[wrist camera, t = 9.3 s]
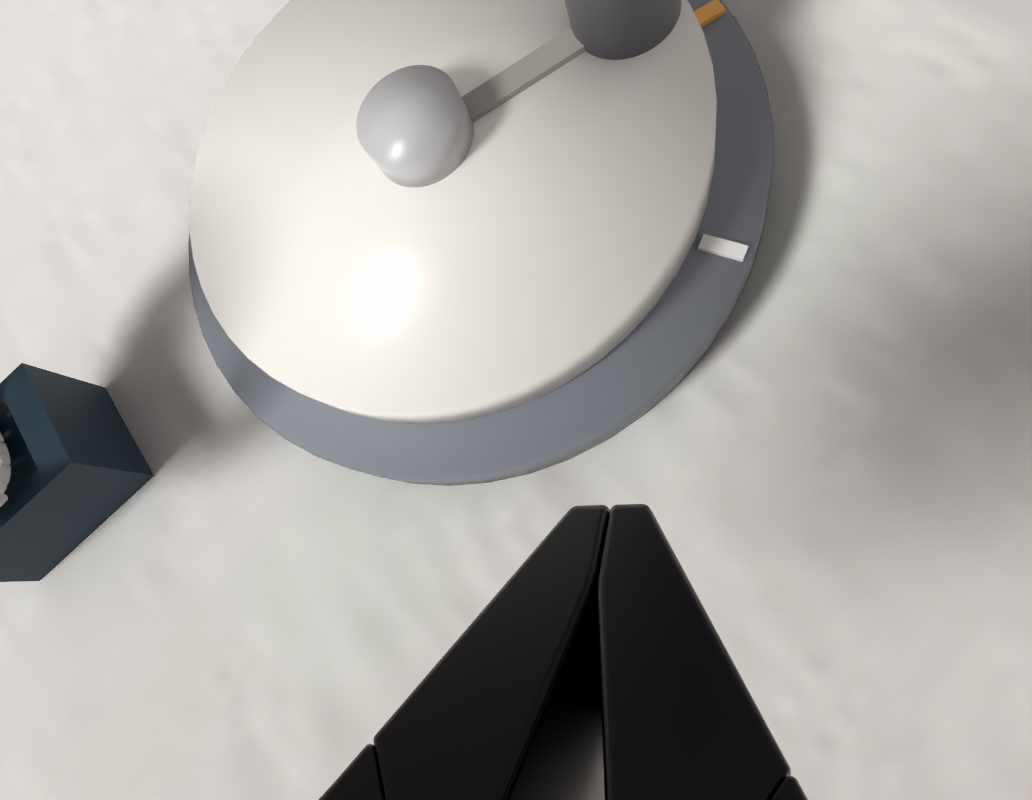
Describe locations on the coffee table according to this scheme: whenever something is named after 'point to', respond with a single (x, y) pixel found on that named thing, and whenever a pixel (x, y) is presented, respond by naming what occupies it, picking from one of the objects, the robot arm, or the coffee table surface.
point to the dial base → (604, 386)
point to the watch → (58, 468)
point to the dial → (451, 194)
